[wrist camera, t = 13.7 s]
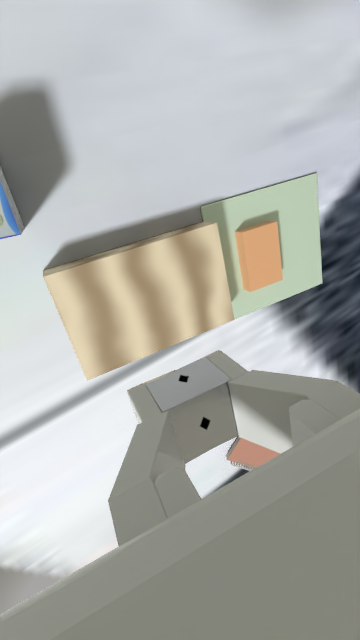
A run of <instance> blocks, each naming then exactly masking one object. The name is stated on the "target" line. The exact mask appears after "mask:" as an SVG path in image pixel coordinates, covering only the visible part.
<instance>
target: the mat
mask: <svg viewBox="0 0 360 640" xmlns="http://www.w3.org/2000/svg"><path fill="white" fill-rule="evenodd" d="M200 208H201V213H202V218H203V222H216V223H217V224H218V230H219V236H220V241H221V247H222V253H223V258H224V264H225V269H226V275H227V281H228V286H229V292H230V297H231V303H232V309H233V314H234V320H235V319H237V318H239V317H242V316H244V315H247V314H249V313H252V312H254V311H256V310H259V309H261V308H264V307H266V306H268V305H271V304H273V303H276V302H278V301H281V300H283V299H285V298H288V297H290V296H293V295H295V294H297V293H300V292H302V291H305V290H307V289H310V288H312V287H314V286H317V285H319V284H322V268H321V249H320V229H319V210H318V191H317V173H314V174H311V175H307V176H304V177H301V178H297V179H294V180H290V181H287V182H283V183H280V184H277V185H273V186H270V187H266V188H263V189H259V190H256V191H253V192H249V193H246V194H242V195H239V196H235V197H232V198H229V199H225V200H222V201H218V202H215V203H211V204H208V205H205V206H201V207H200ZM267 221H277V224H278V234H279V245H280V255H281V266H282V276H283V280H281V281H278V282H276V283H273V284H270V285H268V286H265V287H263V288H260V289H257V290H255V291H252V292H249V291H247V290H244V289H243V284H242V277H241V271H240V264H239V257H238V251H237V244H236V238H235V231H238V230H241V229H245V228H248V227H251V226H254V225H257V224H260V223H264V222H267Z"/></svg>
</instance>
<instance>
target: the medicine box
mask: <svg viewBox="0 0 360 640" xmlns="http://www.w3.org/2000/svg"><path fill="white" fill-rule="evenodd" d="M24 229H25V228H24V225H23V223H22V220H21V217H20V215H19V212H18V210H17V207H16V204H15V202H14V199H13V197H12V194H11V192H10V189H9V187H8V184H7V182H6V179H5V177H4V174H3V171H2V169H1V166H0V239H3V238H7V237H12V236H16V235H21V234H22V232H23V231H24Z"/></svg>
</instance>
